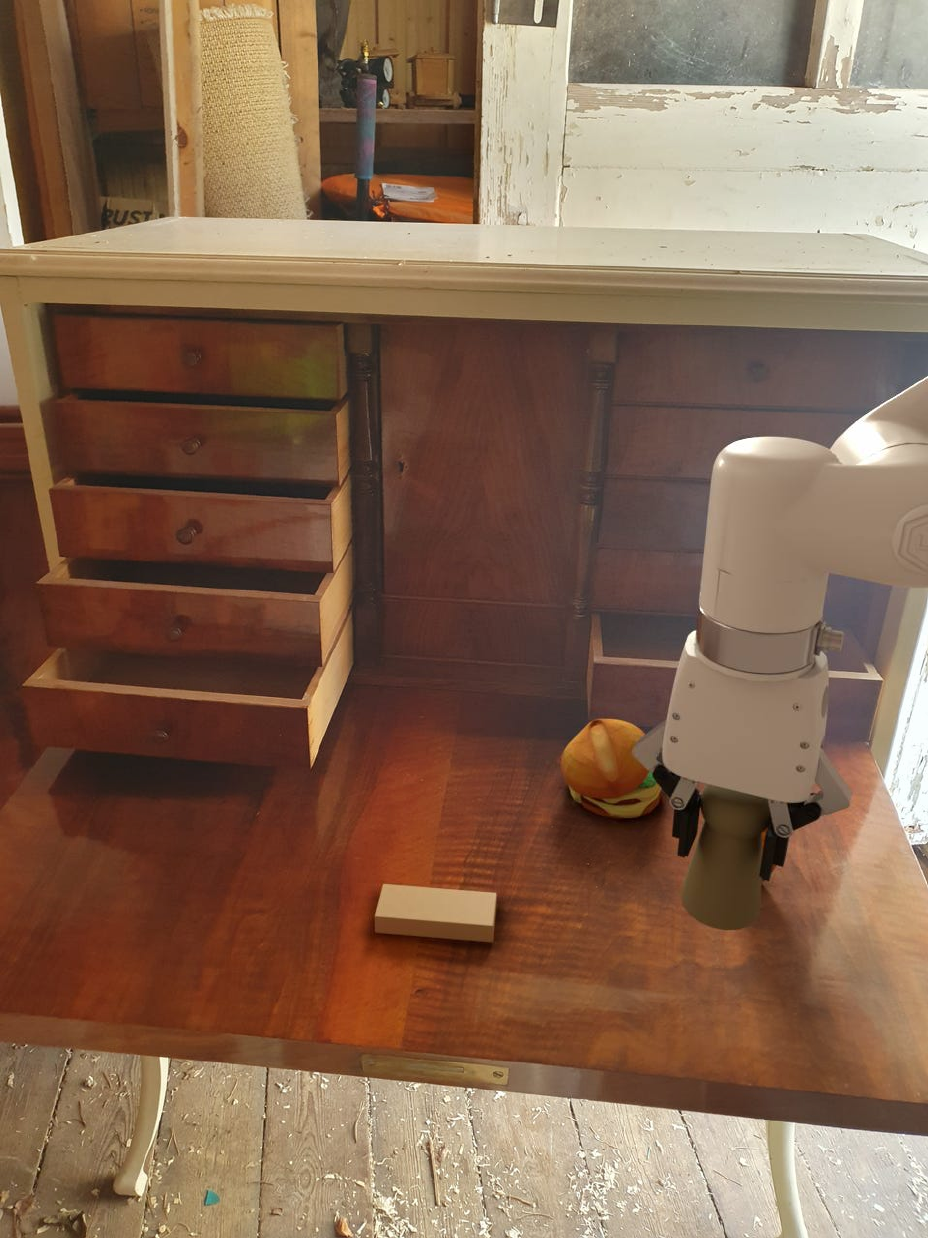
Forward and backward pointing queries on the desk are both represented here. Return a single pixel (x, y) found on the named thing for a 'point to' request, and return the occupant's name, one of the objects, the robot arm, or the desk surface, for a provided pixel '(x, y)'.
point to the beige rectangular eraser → (436, 913)
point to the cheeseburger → (609, 771)
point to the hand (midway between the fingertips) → (726, 854)
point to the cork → (727, 860)
